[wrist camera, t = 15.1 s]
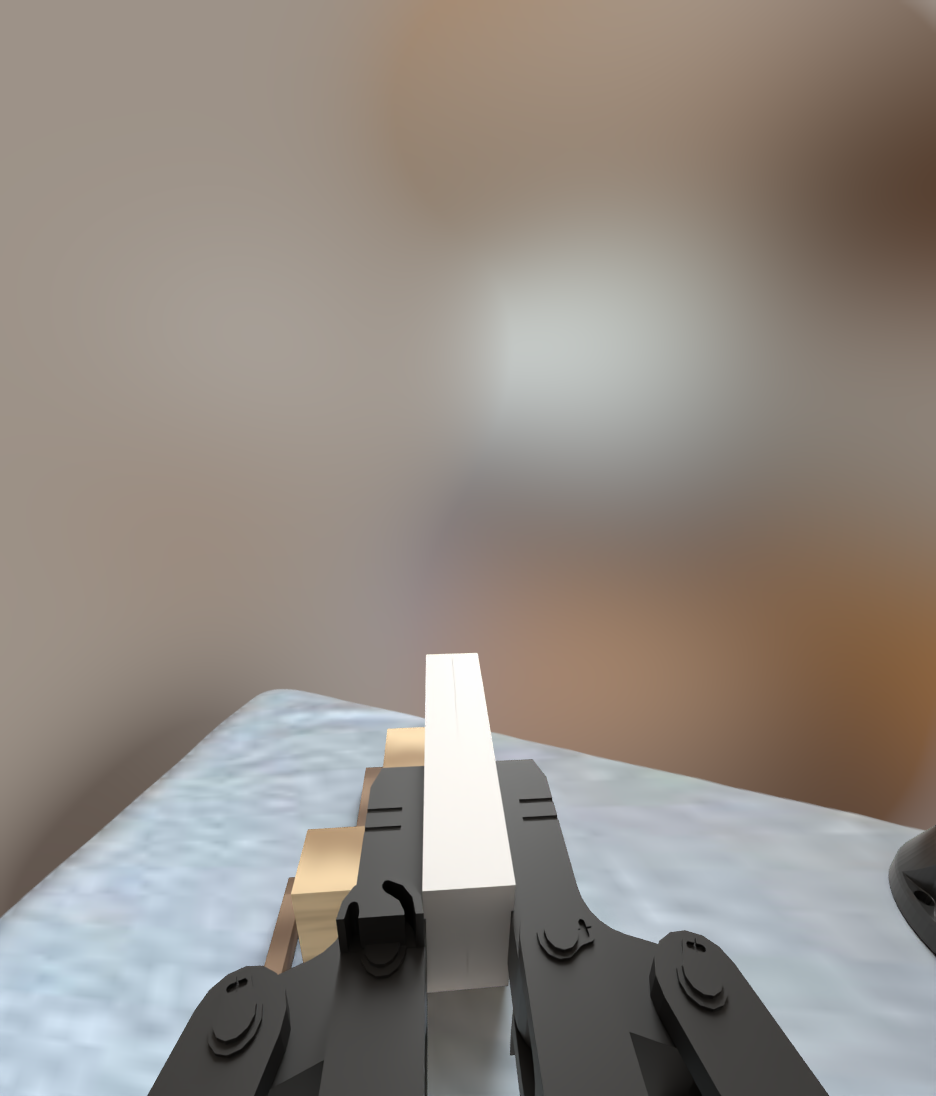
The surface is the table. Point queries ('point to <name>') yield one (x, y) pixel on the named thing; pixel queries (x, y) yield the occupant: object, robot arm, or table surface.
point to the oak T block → (339, 858)
